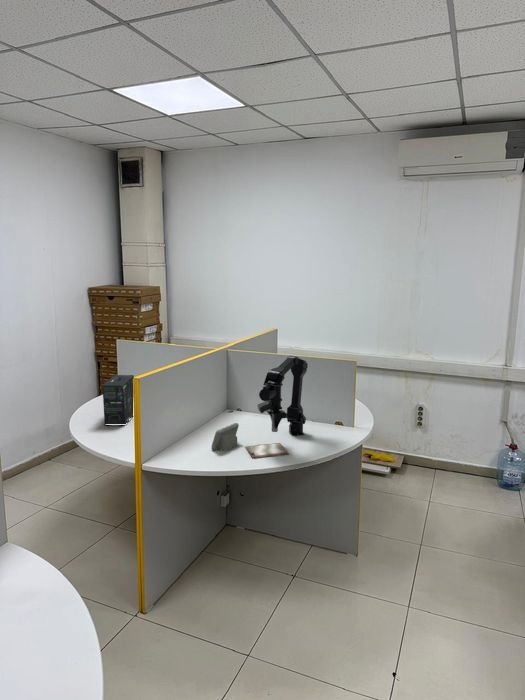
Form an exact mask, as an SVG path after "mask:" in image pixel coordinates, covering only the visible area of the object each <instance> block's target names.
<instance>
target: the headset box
mask: <svg viewBox="0 0 525 700" xmlns="http://www.w3.org/2000/svg"><path fill="white" fill-rule="evenodd" d="M133 378H134V379H135V376H134V374H114V375H113V376H112V377H110V378H109V379H108V380H107V381H105V382H104V383H103V384H102V385H101V387H102V402H103V416H104V425H105V424H126V423H127V422H128V421H129V419H130V418H131V417H133V418H134V416H133ZM129 422H130V421H129Z"/></svg>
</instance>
